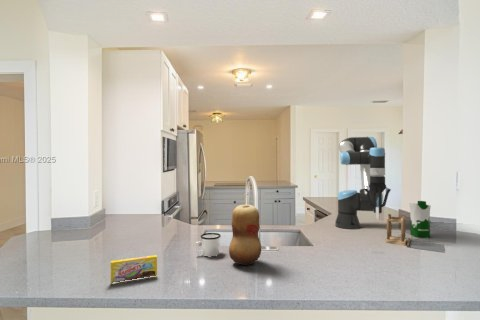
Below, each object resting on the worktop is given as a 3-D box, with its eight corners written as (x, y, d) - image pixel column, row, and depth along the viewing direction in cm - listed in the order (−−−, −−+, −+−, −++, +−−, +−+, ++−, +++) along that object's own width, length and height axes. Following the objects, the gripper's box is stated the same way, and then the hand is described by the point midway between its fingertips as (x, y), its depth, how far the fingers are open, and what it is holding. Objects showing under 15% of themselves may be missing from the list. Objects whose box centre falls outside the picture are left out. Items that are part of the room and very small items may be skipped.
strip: (406, 247, 140) (406, 244, 140) (408, 240, 152) (408, 238, 152) (408, 247, 140) (408, 245, 140) (410, 240, 152) (410, 238, 152)
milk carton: (415, 238, 156) (415, 201, 156) (407, 233, 165) (407, 199, 165) (432, 238, 155) (432, 202, 155) (423, 234, 164) (423, 199, 164)
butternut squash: (238, 272, 111) (237, 209, 111) (224, 261, 123) (223, 204, 123) (267, 266, 118) (267, 206, 117) (251, 256, 129) (251, 201, 129)
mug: (217, 250, 139) (217, 231, 139) (223, 256, 130) (223, 236, 130) (193, 253, 135) (193, 234, 135) (197, 259, 126) (197, 239, 126)
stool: (385, 242, 148) (385, 216, 148) (387, 238, 155) (387, 213, 155) (405, 245, 143) (405, 218, 143) (406, 241, 150) (406, 215, 150)
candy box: (110, 285, 101) (110, 262, 101) (110, 283, 103) (110, 260, 103) (157, 277, 108) (157, 256, 107) (156, 275, 109) (156, 254, 109)
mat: (409, 247, 140) (409, 247, 140) (411, 240, 151) (411, 240, 151) (444, 252, 132) (444, 252, 132) (443, 244, 143) (443, 244, 143)
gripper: (363, 175, 155) (363, 218, 155) (389, 176, 147) (390, 221, 147) (365, 175, 161) (366, 216, 161) (391, 175, 153) (392, 219, 153)
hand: (377, 218), depth 154 cm, fingers closed
